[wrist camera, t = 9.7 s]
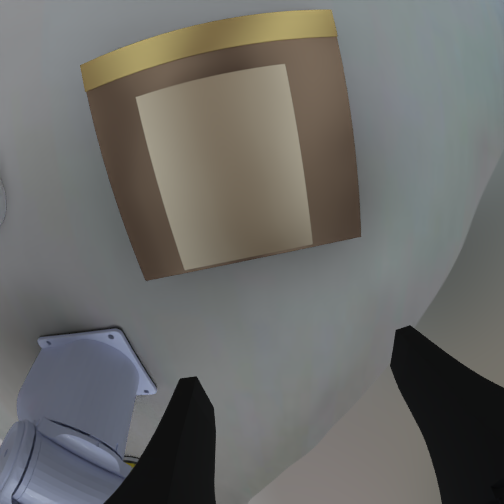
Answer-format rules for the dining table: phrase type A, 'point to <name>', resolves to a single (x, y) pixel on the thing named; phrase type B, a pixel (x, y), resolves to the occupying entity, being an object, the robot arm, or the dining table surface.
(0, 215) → the shot glass
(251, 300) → the dining table surface
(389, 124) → the dining table surface
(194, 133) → the beige block
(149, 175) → the dock
